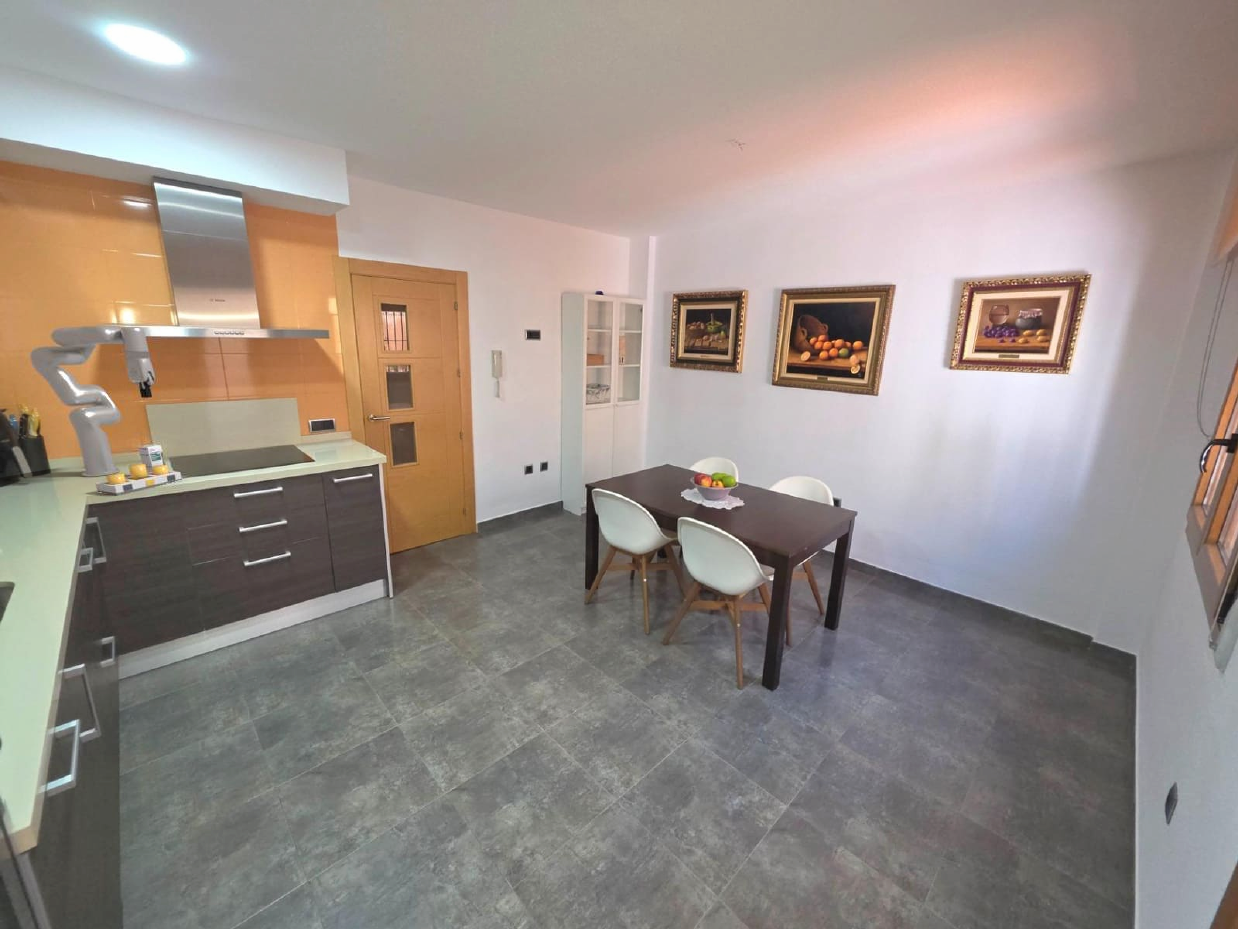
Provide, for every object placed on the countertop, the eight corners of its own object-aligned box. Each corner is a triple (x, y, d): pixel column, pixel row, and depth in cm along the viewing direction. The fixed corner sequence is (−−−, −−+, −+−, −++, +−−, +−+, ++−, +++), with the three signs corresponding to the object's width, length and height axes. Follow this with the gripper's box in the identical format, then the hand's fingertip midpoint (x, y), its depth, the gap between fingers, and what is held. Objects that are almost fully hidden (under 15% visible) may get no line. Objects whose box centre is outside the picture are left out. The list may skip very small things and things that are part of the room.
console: (97, 492, 205) (95, 483, 204) (163, 478, 228) (161, 469, 227) (117, 495, 202) (115, 486, 201) (182, 480, 224) (180, 472, 223)
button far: (151, 480, 220) (148, 467, 219) (164, 477, 225) (161, 464, 224) (159, 481, 219) (156, 468, 217) (172, 478, 224) (170, 465, 222)
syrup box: (154, 477, 228) (147, 447, 225) (144, 476, 229) (137, 446, 226) (167, 474, 234) (161, 444, 230) (157, 473, 235) (151, 444, 231)
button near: (106, 489, 205) (103, 475, 204) (121, 486, 210) (118, 472, 209) (115, 491, 204) (111, 477, 202) (130, 487, 209) (127, 474, 207)
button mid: (128, 479, 212) (125, 466, 211) (142, 476, 217) (139, 463, 216) (137, 480, 211) (133, 467, 209) (151, 477, 216) (148, 464, 214)
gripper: (115, 355, 215) (125, 397, 220) (139, 356, 211) (148, 399, 216) (136, 355, 222) (145, 395, 227) (159, 356, 218) (168, 397, 223)
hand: (146, 397), depth 221 cm, fingers closed
